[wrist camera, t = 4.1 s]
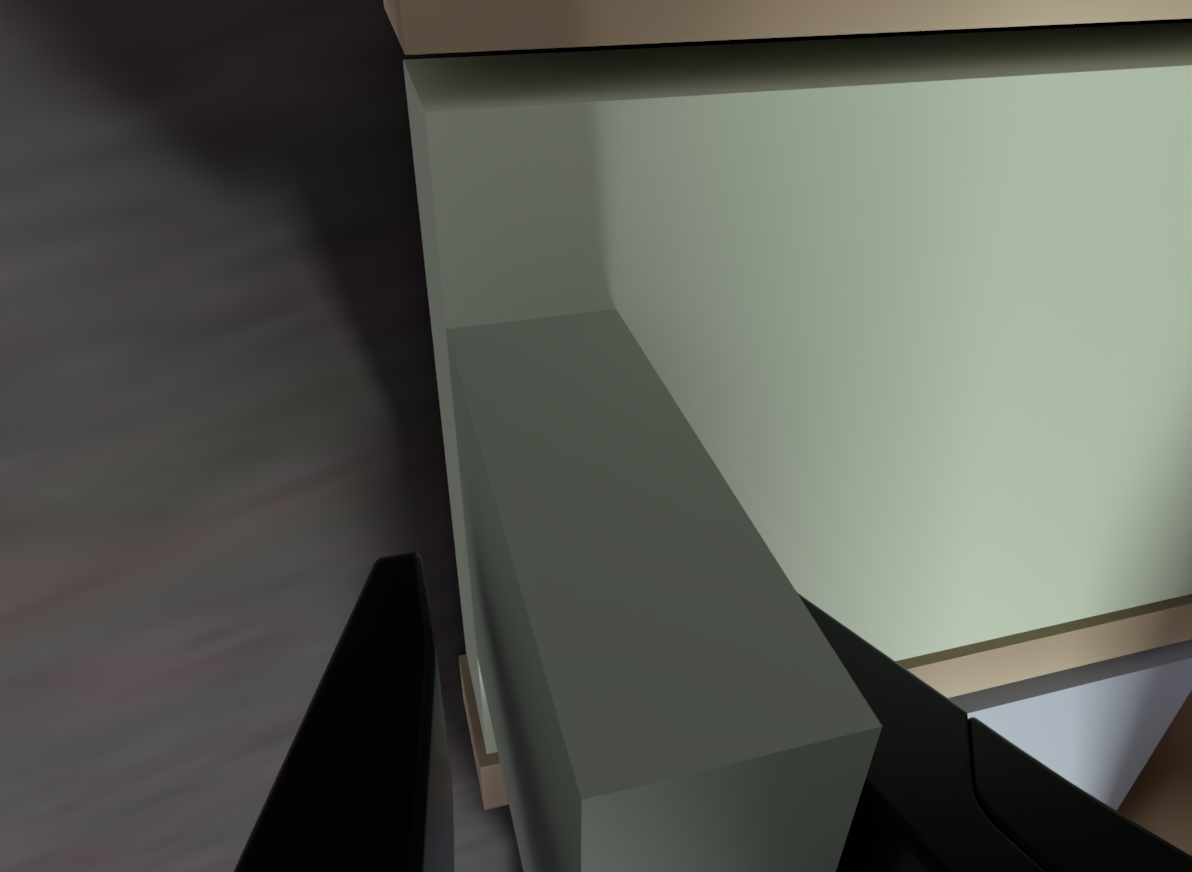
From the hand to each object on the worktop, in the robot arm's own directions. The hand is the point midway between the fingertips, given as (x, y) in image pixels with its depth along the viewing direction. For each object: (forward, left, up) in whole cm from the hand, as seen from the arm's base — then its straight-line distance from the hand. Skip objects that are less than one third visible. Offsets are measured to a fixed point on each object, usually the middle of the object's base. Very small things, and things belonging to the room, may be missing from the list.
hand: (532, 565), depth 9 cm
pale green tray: (0, -9, -3) cm, 10 cm away
